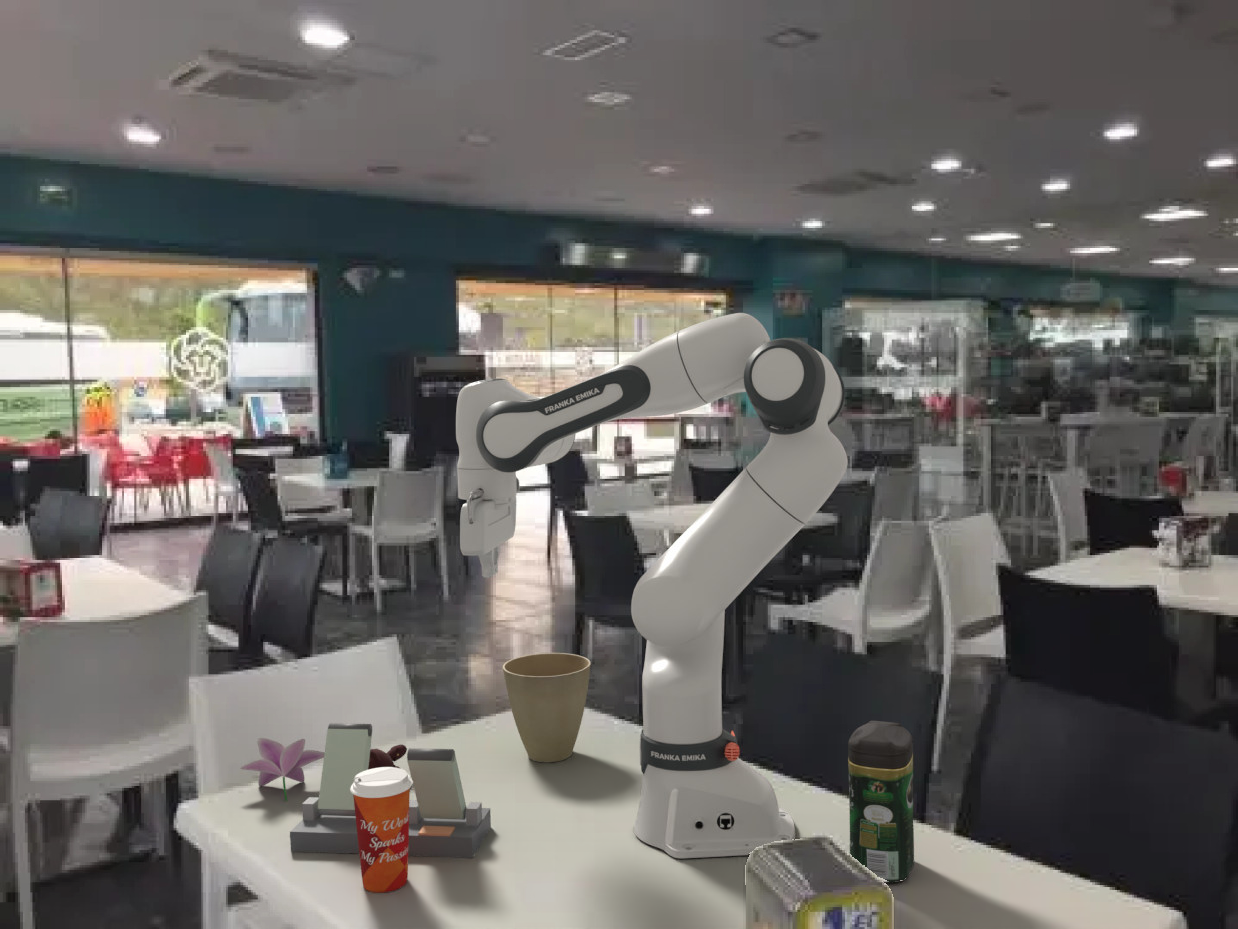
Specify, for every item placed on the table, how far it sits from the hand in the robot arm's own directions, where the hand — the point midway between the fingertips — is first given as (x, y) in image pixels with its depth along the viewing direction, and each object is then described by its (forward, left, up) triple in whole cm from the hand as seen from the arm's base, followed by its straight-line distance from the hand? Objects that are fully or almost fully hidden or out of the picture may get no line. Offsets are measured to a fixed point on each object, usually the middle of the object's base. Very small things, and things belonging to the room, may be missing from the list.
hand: (490, 576), depth 164 cm
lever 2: (+3, +18, -30) cm, 35 cm away
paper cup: (+7, +31, -34) cm, 47 cm away
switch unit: (+11, +18, -34) cm, 40 cm away
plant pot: (-5, -17, -34) cm, 39 cm away
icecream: (+20, +1, -34) cm, 40 cm away
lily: (+34, +2, -34) cm, 48 cm away
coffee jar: (-56, +22, -34) cm, 69 cm away
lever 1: (+18, +18, -30) cm, 39 cm away
